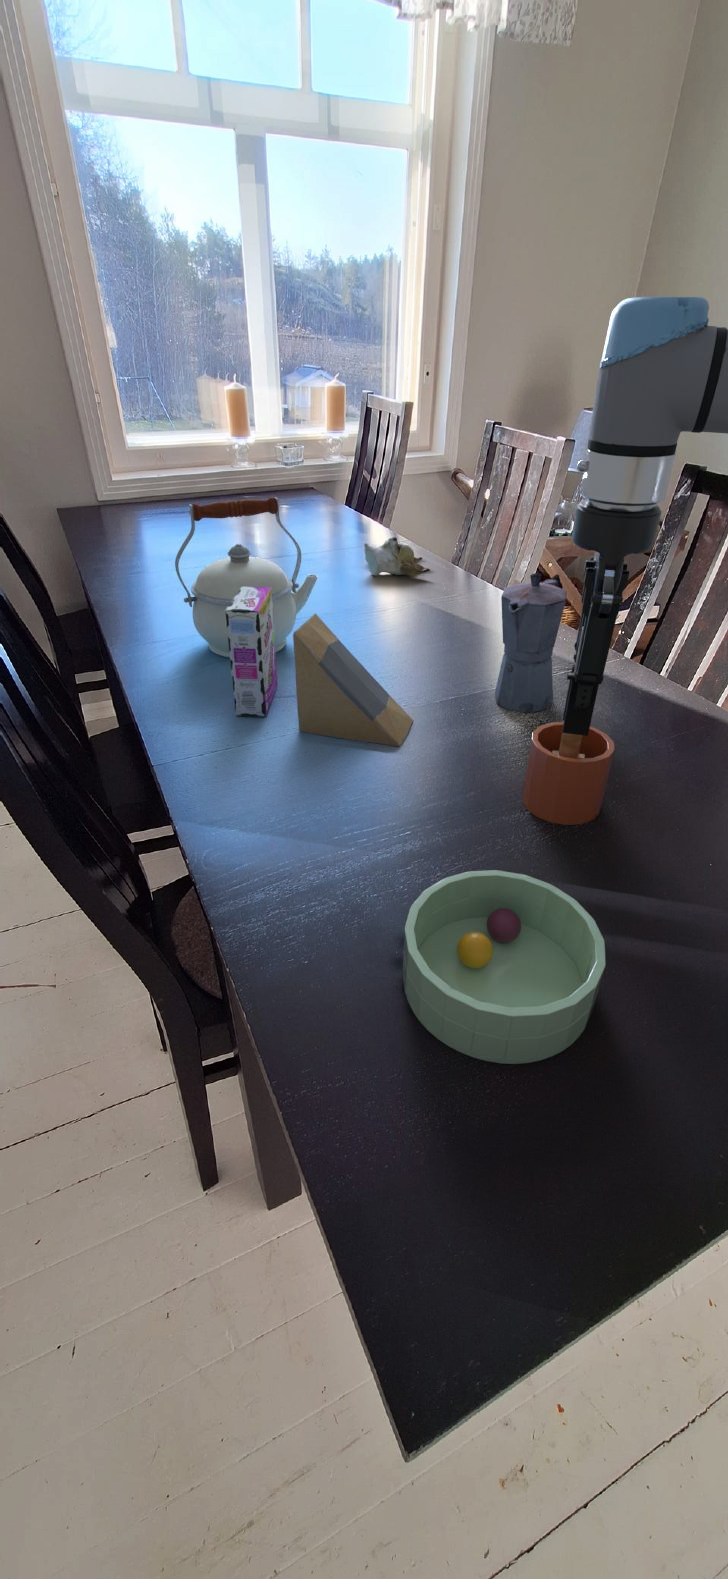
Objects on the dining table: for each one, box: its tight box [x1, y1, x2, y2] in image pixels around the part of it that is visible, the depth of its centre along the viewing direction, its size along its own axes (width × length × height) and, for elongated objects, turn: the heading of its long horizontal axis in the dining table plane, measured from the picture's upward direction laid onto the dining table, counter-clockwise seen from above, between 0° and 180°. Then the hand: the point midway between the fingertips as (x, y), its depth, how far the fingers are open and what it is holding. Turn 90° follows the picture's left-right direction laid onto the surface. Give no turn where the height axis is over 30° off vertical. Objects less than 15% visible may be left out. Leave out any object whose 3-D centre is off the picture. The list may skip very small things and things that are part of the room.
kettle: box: [174, 496, 319, 659], centre depth 121 cm, size 25×18×25 cm
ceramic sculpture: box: [363, 536, 431, 577], centre depth 161 cm, size 11×9×15 cm
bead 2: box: [487, 908, 521, 943], centre depth 65 cm, size 3×3×3 cm
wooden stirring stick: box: [552, 626, 585, 759], centre depth 76 cm, size 4×2×21 cm, turn 76°
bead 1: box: [457, 932, 493, 968], centre depth 62 cm, size 3×3×3 cm
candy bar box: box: [225, 587, 278, 718], centre depth 103 cm, size 11×5×16 cm, turn 177°
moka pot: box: [494, 572, 568, 713], centre depth 103 cm, size 10×15×20 cm, turn 145°
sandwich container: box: [292, 612, 414, 747], centre depth 97 cm, size 9×15×15 cm, turn 73°
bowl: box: [401, 869, 607, 1065], centre depth 60 cm, size 17×17×6 cm
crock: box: [521, 721, 615, 826], centre depth 81 cm, size 9×9×10 cm
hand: (575, 726), depth 77 cm, fingers closed on wooden stirring stick, 2 cm apart
